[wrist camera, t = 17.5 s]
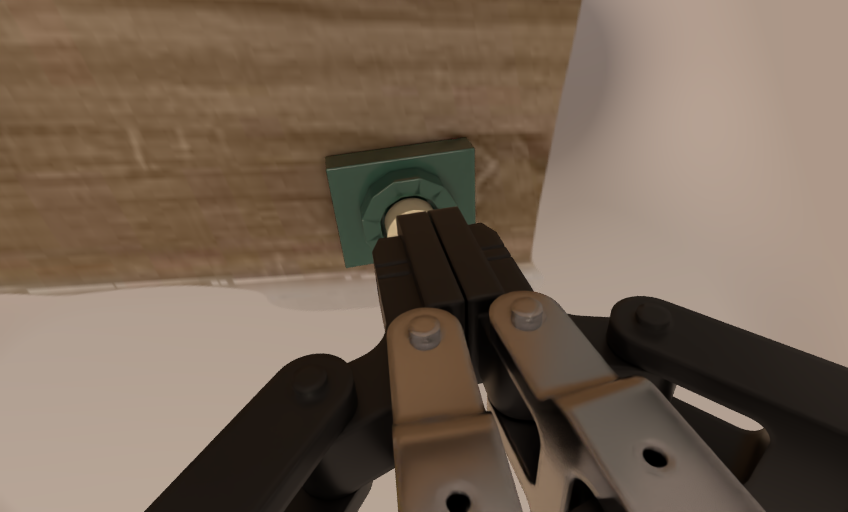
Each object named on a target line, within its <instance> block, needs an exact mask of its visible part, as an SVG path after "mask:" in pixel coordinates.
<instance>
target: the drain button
mask: <svg viewBox="0 0 848 512" xmlns="http://www.w3.org/2000/svg"><path fill="white" fill-rule="evenodd" d="M429 210H434V209H433V207H432V206H431V205H430V204H429V203H428V202H426V201H424V200H422V199H419V198H407V199H403V200H400V201H398V202H397V203H395V204H394V205H393V206H392V207H391V208H390V209H389V210H388V212H387V214H386V216H385V221H384V226H385V230H386V234H387V237H393V236H398V234H397V224H396V216H397V215H403V214H410V213H416V212H423V211H426V212H427V211H429Z"/></svg>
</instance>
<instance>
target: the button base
mask: <svg viewBox="0 0 848 512" xmlns="http://www.w3.org/2000/svg"><path fill="white" fill-rule="evenodd" d="M325 163H326V173H327V178H328V183H329V188H330V193H331V198H332V203H333V208H334V213H335V217H336V222H337V227H338V232H339V237H340V242H341V247H342V252H343V257H344V262H345V266H346V268H350V267H356V266H362V265H368V264H374V262H373V255H372V251H373V249H374V247H375V245H376V243H377V241H378V239H380V238H387V234H386V230H385V226H384V221H385V216H386V214H387V212H388V210H389V209H390V208H391V207H392V206H393V205H394V204H395V203H397V202H398V201H400V200H403V199H407V198H419V199H422V200H424V201H426V202H428V203H429V204H430V205H431V206H432V207H433V209H434V210H436V209H442V208H449V207H456V206H457V207H458V208H459V210H460V211H461V213H462V215H463V217H464V219H465V220H466V222H467V224H468V225H470V224H476V219H475V148H474V147H473V145H472V144H471V143H470V141H469V140H468V139H467V138H466V137H464V138H457V139H450V140H443V141H436V142H428V143H421V144H414V145H407V146H400V147H393V148H386V149H378V150H371V151H364V152H357V153H350V154H343V155H335V156H328V157H325Z"/></svg>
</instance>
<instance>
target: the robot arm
mask: <svg viewBox="0 0 848 512" xmlns="http://www.w3.org/2000/svg"><path fill="white" fill-rule="evenodd" d="M396 224H397V234H398V236H393V237H387V238H380V239H378V241H377V243H376V245H375V247H374V249H373V251H372V255H373V262H374V269H375V275H376V282H377V289H378V296H379V302H380V308H381V313H382V318H383V323H384V328H385V334H384V337H383V338H382V340H381V341H380V343H379V344H378V345H377V346H376V347H375V348H374V349H373V350H371V351H370V352H368V353H367V354H365V355H363V356H362V357H360V358H357V359H355V360H353V361H351V362H349V363H346V362H345V361H344V360H342V359H341V358H339V357H337V356H334V355H330V354H311V355H306V356H303V357H300V358H298V359H295V360H293V361H292V362H290V363H288V364H287V365H286V366H284V367H283V368H282V369H281V370H280V371H278V373H276V375H275V376H274V377H273V378H272V379H271V380H270V381H269V382H268V383H267V384H266V385H265V386H264V387H263V388H262V389H261V390H260V391H259V392H258V393H257V395H256V396H255V397H253V399H252V400H251V401H250V402H249V403H248V404H247V405H246V406H245V407H244V408H243V409H242V410H241V411H240V412H239V413H238V414H237V415H236V416H235V417H234V418H233V419H232V420H231V422H230V423H229V424H228V425H227V426H226V427H225V428H224V429H223V430H222V431H221V432H220V433H219V434H218V435H217V436H216V437H215V438H214V439H213V440H212V441H211V442H210V443H209V444H208V446H207V447H206V448H205V449H204V450H203V451H202V452H201V453H200V454H199V455H198V456H197V457H196V458H195V459H194V460H193V461H192V462H191V463H190V464H189V465H188V466H187V468H185V469H184V470H183V472H182V473H181V474H180V475H179V476H178V477H177V478H176V479H175V480H174V481H173V482H172V483H171V484H170V485H169V486H168V487H167V488H166V489H165V491H163V492H162V493H161V495H160V496H159V497H158V498H157V499H156V500H155V501H154V502H153V503H152V504H151V505H150V506H149V507H148V508H147V509H146V510H145V511H144V512H358V510H359V508H360V507H361V505H362V503H363V502H364V500H365V498H366V497H367V495H368V493H369V491H370V489H371V486H372V483H373V480H375V479H377V478H378V477H380V476H382V475H384V474H385V473H387V472H389V471H390V470H392V469H394V468H395V473H396V474H395V475H396V488H397V501H398V512H523V511H522V507H521V504H520V500H519V497H518V494H517V490H516V487H515V483H514V480H513V476H512V473H511V470H510V467H509V463H508V460H507V456H508V458H509V461H510V463H511V465H512V467H513V469H514V471H515V473H516V475H517V478H518V480H519V482H520V484H521V486H522V488H523V490H524V493H525V495H526V497H527V500H528V503H529V507H530V511H531V512H848V368H847V367H844V366H842V365H839V364H836V363H834V362H831V361H828V360H825V359H823V358H820V357H817V356H814V355H812V354H809V353H806V352H803V351H801V350H798V349H795V348H793V347H790V346H787V345H784V344H781V343H779V342H776V341H773V340H771V339H768V338H765V337H763V336H760V335H757V334H754V333H752V332H749V331H746V330H744V329H741V328H738V327H735V326H733V325H729V324H727V323H724V322H722V321H719V320H716V319H713V318H711V317H708V316H705V315H703V314H700V313H697V312H695V311H692V310H689V309H686V308H684V307H681V306H678V305H675V304H673V303H670V302H667V301H664V300H661V299H658V298H653V297H646V296H635V297H629V298H625V299H622V300H621V301H619V302H617V303H616V304H615V305H614V306H613V308H612V310H611V315H610V317H593V316H592V317H591V316H577V315H571V314H567V313H566V312H565V311H564V310H563V309H562V308H561V306H560V305H559V304H558V303H557V302H556V301H555V300H553V299H552V298H550V297H548V296H546V295H544V294H541V293H537V292H534V291H533V289H532V288H531V286H530V284H529V283H528V281H527V280H526V278H525V277H524V275H523V273H522V272H521V270H520V269H519V267H518V266H517V264H516V262H515V261H514V259H513V258H512V257H511V255H510V253H509V251H508V250H507V248H506V247H504V244H503V242H502V240H501V239H500V237H499V236H498V234H497V232H495V231H494V230H492V229H490V228H489V227H487V226H486V225H484V224H482V223H476V224H470V225H468V224H467V222H466V220H465V219H464V217H463V215H462V213H461V211H460V210H459V208H458V207H457V206H456V207H449V208H442V209H436V210H429V211H427V212H426V211H423V212H416V213H410V214H403V215H397V216H396ZM480 383H483V384H484V387H485V389H486V392H487V411H486V410H485V408H484V405H483V401H482V398H481V394H480V390H479V387H478V384H480ZM676 385H679V386H681V387H683V388H685V389H688V390H690V391H692V392H694V393H696V394H699V395H701V396H703V397H705V398H707V399H710V400H712V401H714V402H716V403H718V404H720V405H723V406H725V407H727V408H729V409H731V410H734V411H736V412H738V413H740V414H743V415H745V416H747V417H749V418H751V419H753V420H755V421H756V422H758V423H759V424H760V425H762V426H763V427H764V428H763V429H761V430H758V431H749V430H744V429H741V428H739V427H736V426H734V425H732V424H730V423H728V422H726V421H724V420H722V419H720V418H717V417H715V416H713V415H711V414H709V413H707V412H704V411H703V410H700V409H698V408H696V407H694V406H692V405H690V404H688V403H686V402H683V401H681V400H679V399H677V398H675V397H673V394H674V390H675V388H676ZM505 452H506V453H505ZM506 454H507V456H506Z"/></svg>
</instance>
